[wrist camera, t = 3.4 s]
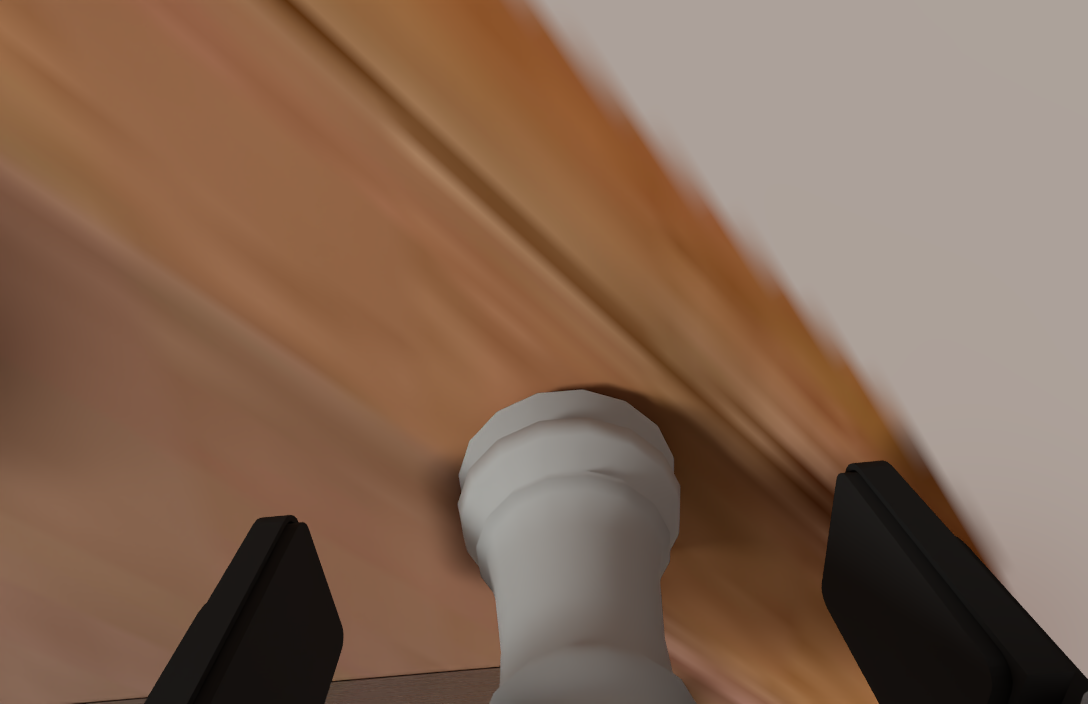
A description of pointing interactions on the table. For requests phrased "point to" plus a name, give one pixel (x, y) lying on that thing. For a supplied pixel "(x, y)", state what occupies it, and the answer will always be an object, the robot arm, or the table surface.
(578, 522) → the rook chess piece
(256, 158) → the table surface
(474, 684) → the gray slotted board
